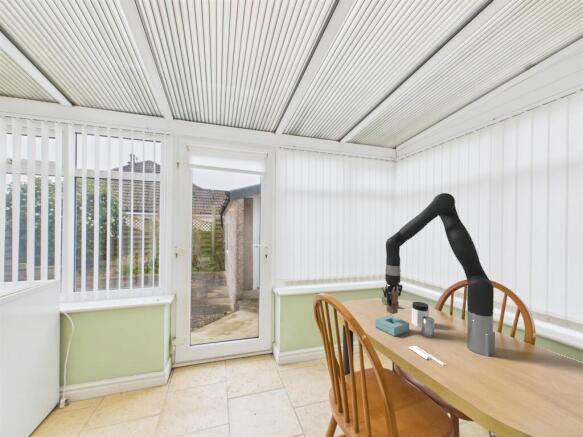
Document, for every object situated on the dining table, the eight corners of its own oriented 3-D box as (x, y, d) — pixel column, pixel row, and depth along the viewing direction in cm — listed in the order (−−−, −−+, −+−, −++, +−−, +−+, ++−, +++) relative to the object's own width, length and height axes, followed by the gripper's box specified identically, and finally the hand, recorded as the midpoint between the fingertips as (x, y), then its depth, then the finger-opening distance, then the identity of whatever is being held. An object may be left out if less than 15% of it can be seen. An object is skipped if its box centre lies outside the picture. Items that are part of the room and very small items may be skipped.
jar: (425, 329, 130) (425, 308, 130) (409, 324, 136) (410, 304, 136) (430, 324, 136) (430, 304, 136) (415, 320, 142) (415, 300, 142)
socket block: (409, 332, 127) (409, 322, 127) (394, 337, 121) (394, 327, 121) (390, 323, 138) (390, 314, 138) (375, 327, 132) (375, 318, 132)
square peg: (397, 312, 129) (398, 290, 129) (392, 314, 127) (393, 291, 127) (391, 310, 132) (391, 288, 132) (386, 311, 130) (386, 289, 130)
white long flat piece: (436, 366, 96) (437, 363, 96) (408, 348, 110) (408, 345, 110) (446, 366, 97) (446, 363, 97) (416, 348, 111) (417, 345, 111)
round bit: (436, 337, 122) (436, 319, 122) (429, 339, 119) (429, 322, 119) (425, 332, 127) (425, 315, 127) (418, 334, 124) (419, 317, 124)
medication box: (381, 302, 172) (381, 297, 172) (384, 301, 174) (383, 296, 173) (396, 307, 162) (396, 301, 162) (399, 306, 163) (398, 300, 163)
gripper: (389, 276, 123) (389, 309, 123) (407, 273, 129) (406, 304, 130) (378, 273, 129) (377, 304, 129) (395, 270, 136) (395, 300, 136)
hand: (392, 304), depth 129 cm, fingers closed on square peg, 4 cm apart
